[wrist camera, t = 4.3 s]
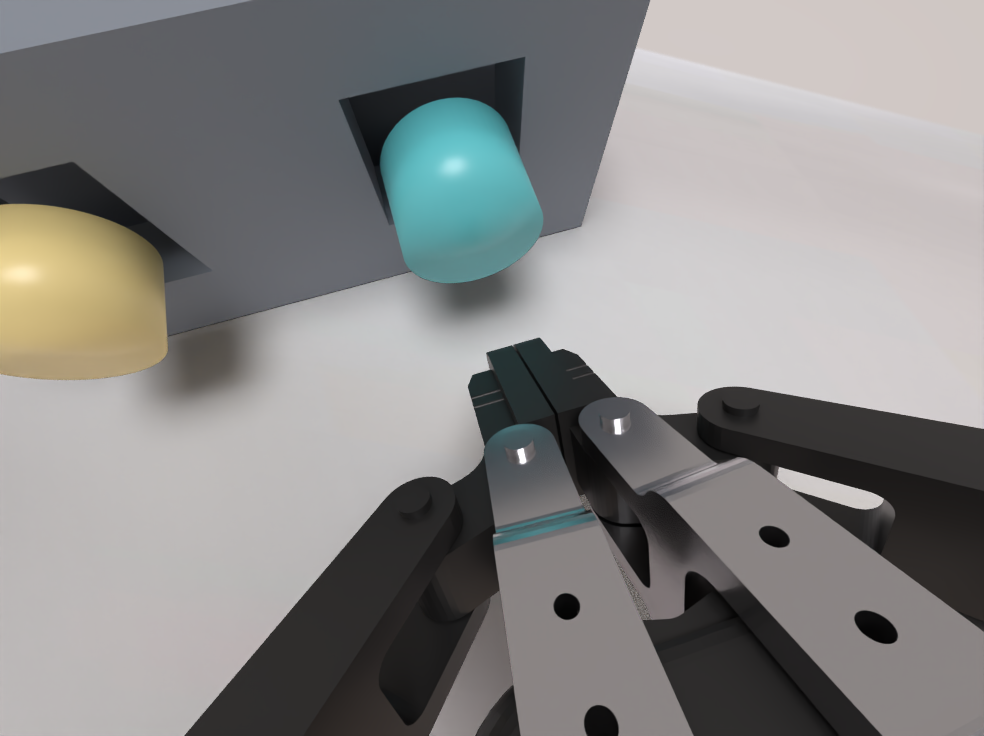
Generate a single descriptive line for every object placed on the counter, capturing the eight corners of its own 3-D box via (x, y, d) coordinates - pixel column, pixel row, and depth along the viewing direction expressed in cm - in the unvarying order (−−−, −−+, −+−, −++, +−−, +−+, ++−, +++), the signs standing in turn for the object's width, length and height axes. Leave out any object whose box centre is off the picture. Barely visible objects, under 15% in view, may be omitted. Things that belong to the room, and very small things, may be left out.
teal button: (536, 263, 15) (551, 169, 10) (418, 295, 14) (384, 211, 10) (510, 193, 15) (514, 81, 11) (398, 222, 15) (360, 118, 11)
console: (581, 225, 19) (677, -90, 9) (69, 362, 18) (-554, 170, 7) (529, 106, 22) (558, -254, 11) (72, 216, 20) (-393, -87, 10)
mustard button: (201, 354, 14) (69, 292, 9) (67, 390, 13) (-130, 343, 9) (194, 275, 15) (72, 186, 10) (69, 307, 14) (-109, 228, 10)
